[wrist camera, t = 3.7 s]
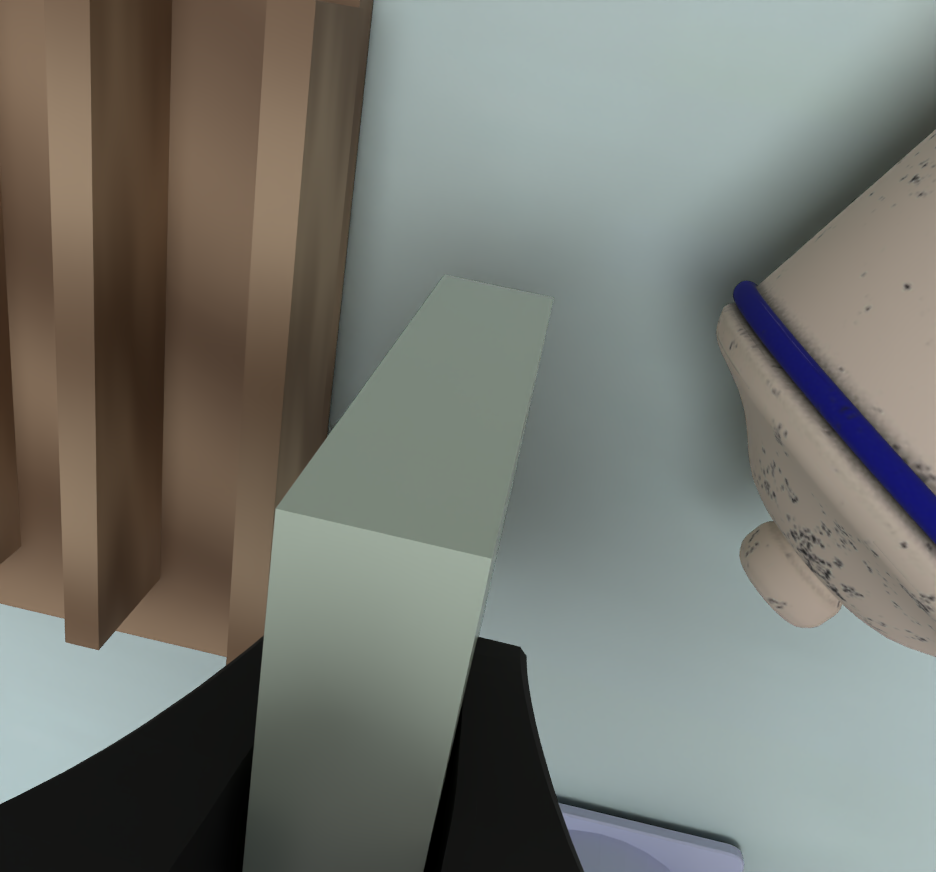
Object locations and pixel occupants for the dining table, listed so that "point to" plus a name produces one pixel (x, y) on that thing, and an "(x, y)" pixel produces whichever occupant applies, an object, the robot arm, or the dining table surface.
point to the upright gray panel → (389, 588)
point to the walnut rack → (167, 299)
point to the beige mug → (847, 412)
